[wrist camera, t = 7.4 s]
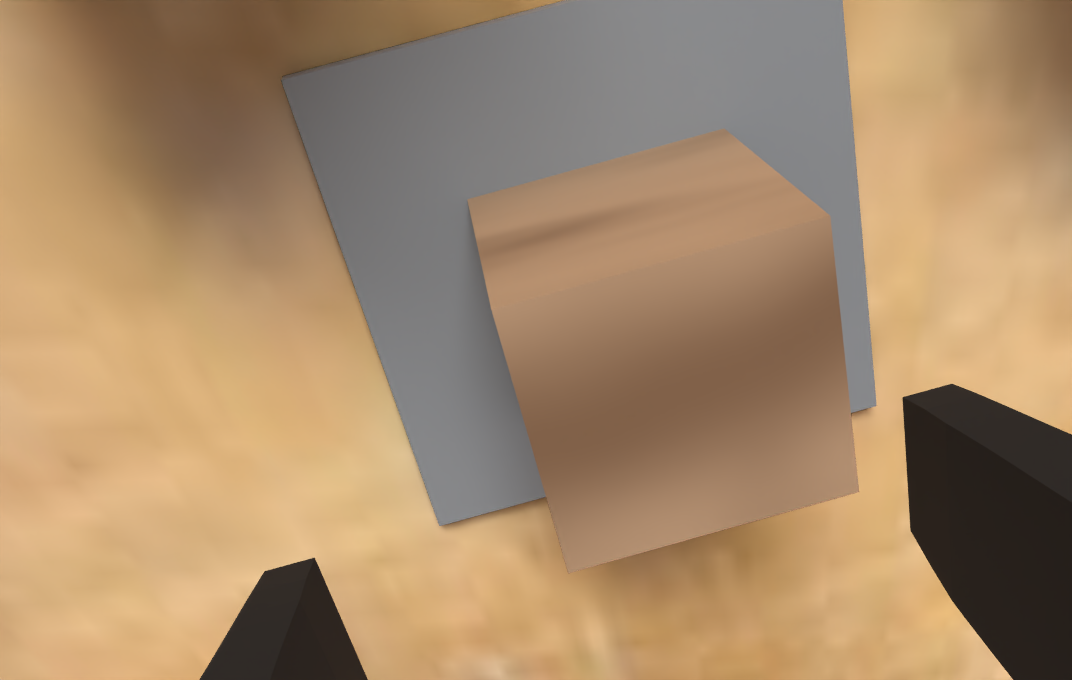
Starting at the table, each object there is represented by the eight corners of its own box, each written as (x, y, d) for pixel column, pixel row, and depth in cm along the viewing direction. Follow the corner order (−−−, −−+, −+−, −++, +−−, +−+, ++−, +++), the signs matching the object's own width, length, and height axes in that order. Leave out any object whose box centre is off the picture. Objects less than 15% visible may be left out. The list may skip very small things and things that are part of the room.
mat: (869, 397, 24) (876, 405, 24) (438, 515, 24) (439, 526, 24) (828, -71, 19) (836, -69, 19) (282, 75, 19) (281, 80, 19)
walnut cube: (758, 355, 23) (859, 492, 18) (530, 418, 23) (567, 573, 18) (723, 128, 20) (829, 216, 15) (466, 199, 20) (491, 309, 15)
